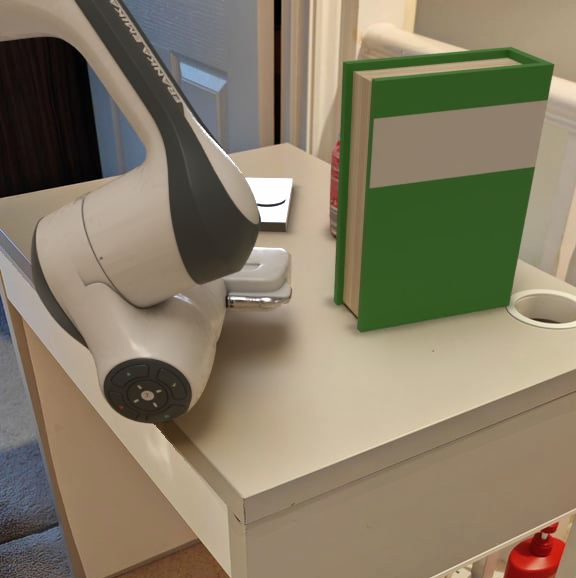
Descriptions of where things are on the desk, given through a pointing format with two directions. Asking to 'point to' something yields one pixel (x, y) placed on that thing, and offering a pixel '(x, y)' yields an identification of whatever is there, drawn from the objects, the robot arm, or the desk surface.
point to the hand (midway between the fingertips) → (199, 242)
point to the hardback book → (435, 181)
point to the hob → (272, 202)
